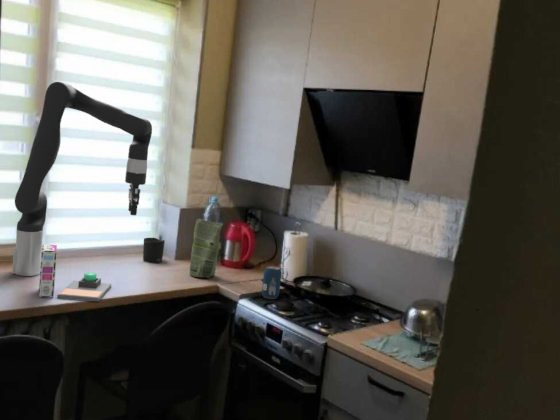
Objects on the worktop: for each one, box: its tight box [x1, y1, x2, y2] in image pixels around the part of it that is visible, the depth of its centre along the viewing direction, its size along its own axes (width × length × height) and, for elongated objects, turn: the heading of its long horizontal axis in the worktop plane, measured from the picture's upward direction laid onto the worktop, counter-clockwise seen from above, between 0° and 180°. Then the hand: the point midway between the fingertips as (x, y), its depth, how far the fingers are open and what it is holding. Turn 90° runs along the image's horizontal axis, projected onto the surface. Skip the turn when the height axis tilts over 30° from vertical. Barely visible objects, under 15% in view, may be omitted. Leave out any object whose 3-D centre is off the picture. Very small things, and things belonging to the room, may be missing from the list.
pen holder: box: [142, 237, 165, 264], centre depth 263 cm, size 9×9×10 cm
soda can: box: [261, 265, 282, 300], centre depth 224 cm, size 7×7×12 cm
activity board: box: [56, 276, 112, 302], centre depth 205 cm, size 14×19×3 cm
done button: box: [83, 272, 98, 282], centre depth 210 cm, size 4×4×2 cm
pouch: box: [189, 218, 224, 279], centre depth 244 cm, size 11×12×25 cm
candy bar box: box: [38, 244, 58, 299], centre depth 198 cm, size 11×5×16 cm, turn 21°
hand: (132, 213), depth 217 cm, fingers open, 8 cm apart
